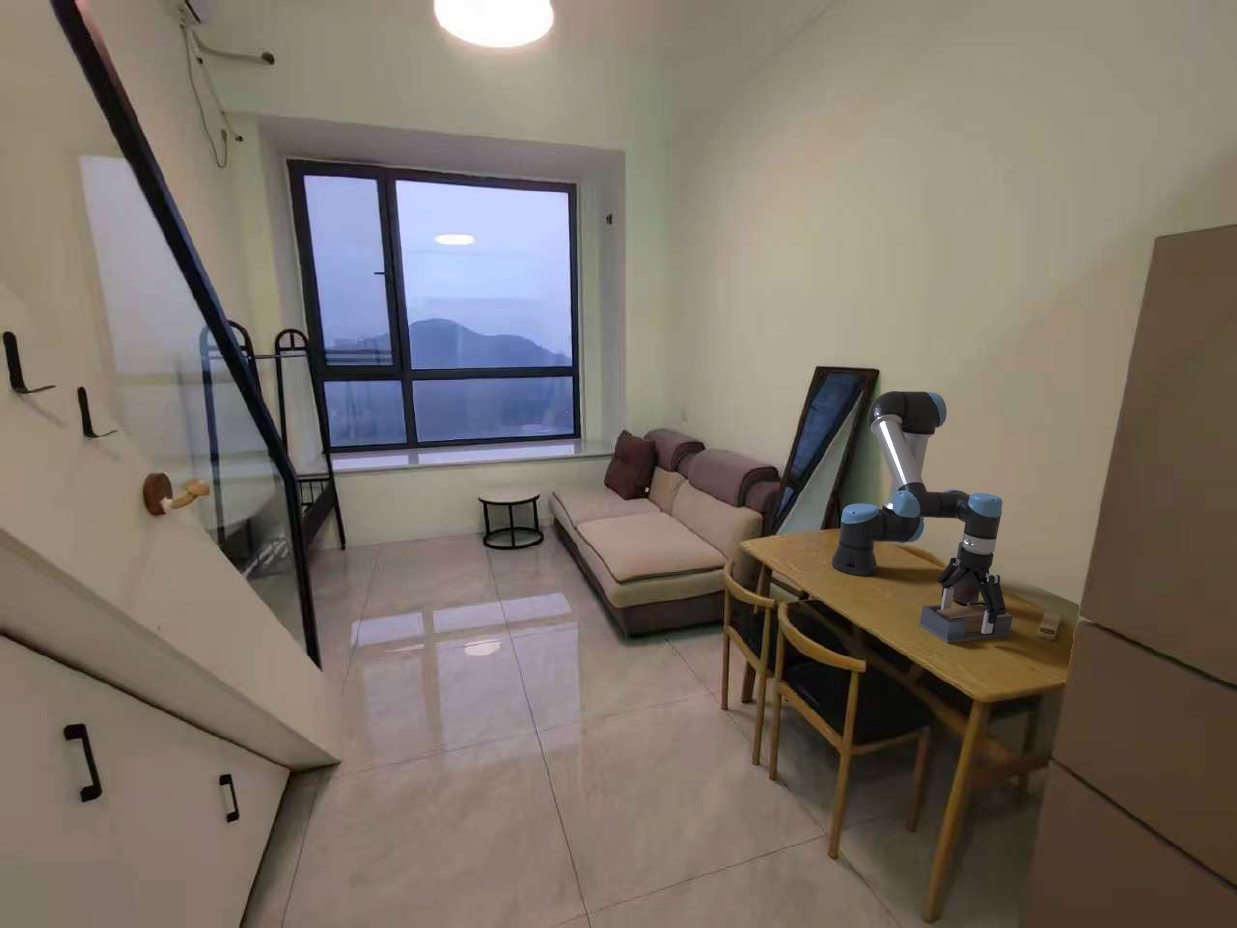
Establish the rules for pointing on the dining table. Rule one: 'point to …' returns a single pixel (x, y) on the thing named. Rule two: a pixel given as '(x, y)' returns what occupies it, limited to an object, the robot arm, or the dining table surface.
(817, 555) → the dining table surface
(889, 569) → the dining table surface
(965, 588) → the candle
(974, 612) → the rail bar
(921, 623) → the bracket plate
